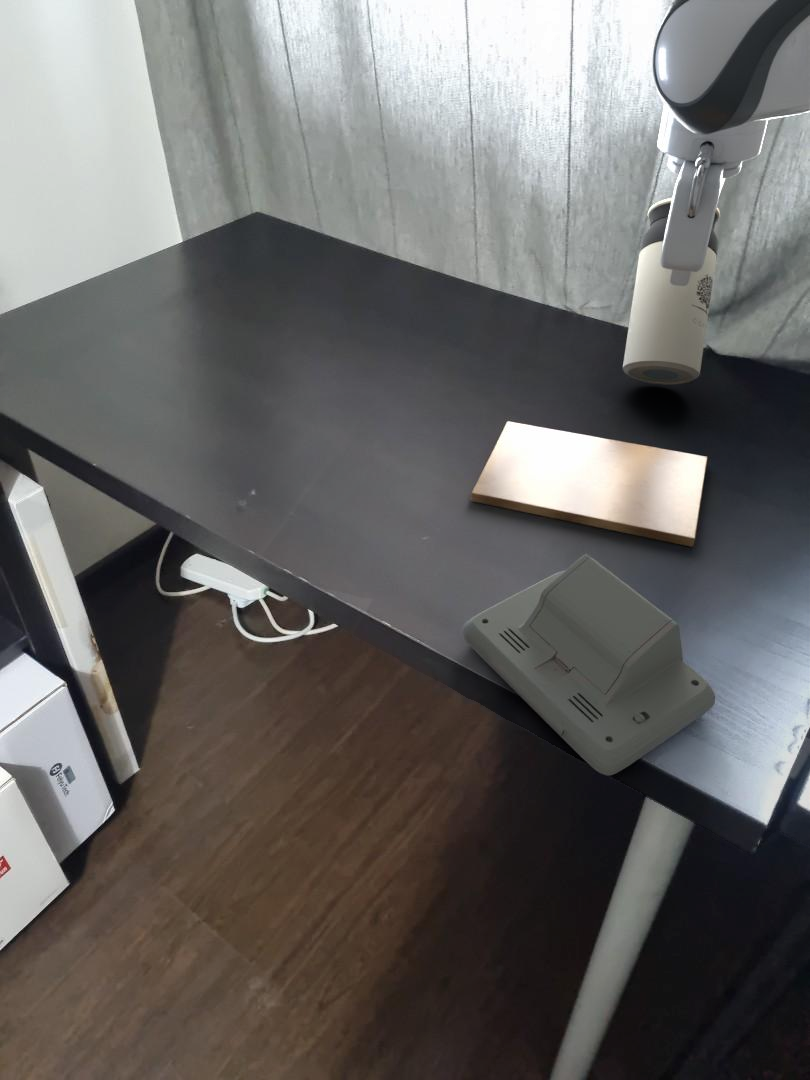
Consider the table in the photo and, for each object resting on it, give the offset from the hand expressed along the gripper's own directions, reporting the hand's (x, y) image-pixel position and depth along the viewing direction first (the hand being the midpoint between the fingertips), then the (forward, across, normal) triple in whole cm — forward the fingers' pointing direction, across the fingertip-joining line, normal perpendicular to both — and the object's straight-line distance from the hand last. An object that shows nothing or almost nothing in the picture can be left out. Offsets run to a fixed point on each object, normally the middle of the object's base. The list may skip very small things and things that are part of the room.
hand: (679, 279), depth 82 cm
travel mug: (+11, 0, 0) cm, 11 cm away
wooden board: (+13, -18, +4) cm, 23 cm away
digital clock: (+10, -38, -3) cm, 39 cm away
